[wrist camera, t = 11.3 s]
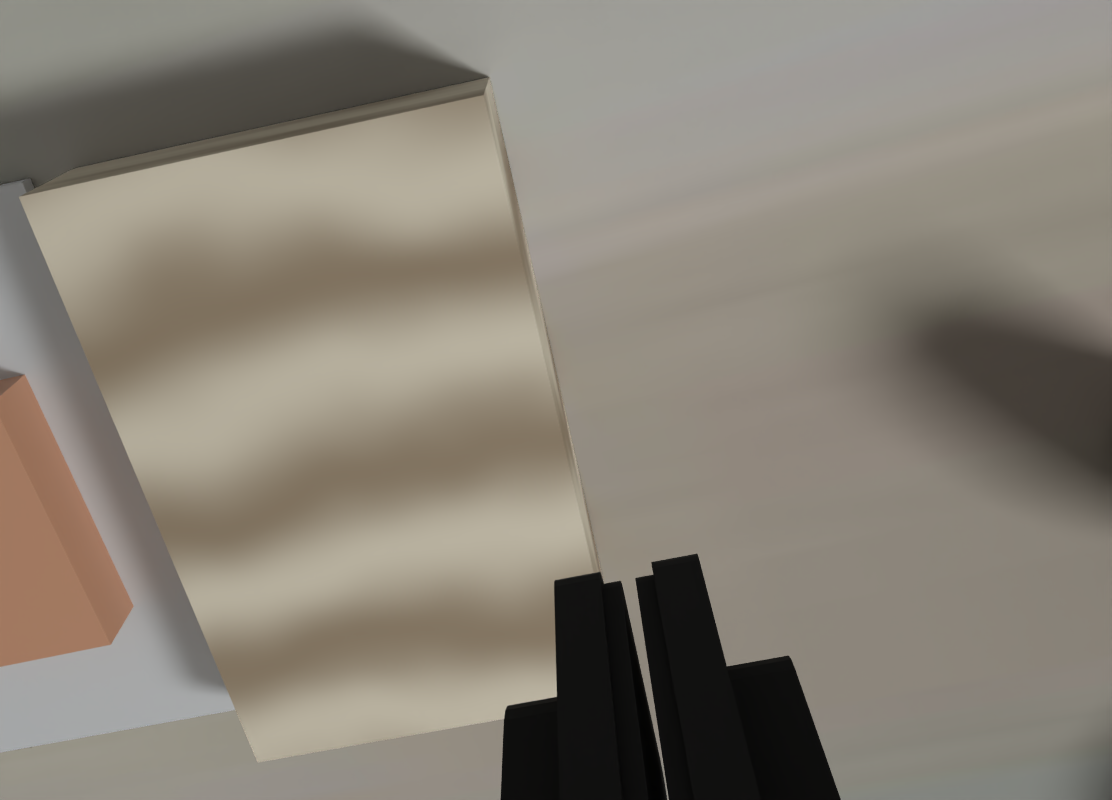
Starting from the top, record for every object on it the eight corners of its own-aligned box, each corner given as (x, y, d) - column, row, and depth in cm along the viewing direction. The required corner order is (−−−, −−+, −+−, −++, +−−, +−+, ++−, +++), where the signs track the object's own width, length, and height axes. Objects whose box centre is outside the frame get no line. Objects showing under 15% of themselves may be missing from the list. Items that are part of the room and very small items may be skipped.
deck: (73, 168, 35) (18, 197, 31) (489, 77, 34) (483, 95, 30) (281, 692, 43) (257, 762, 40) (615, 631, 42) (622, 697, 39)
